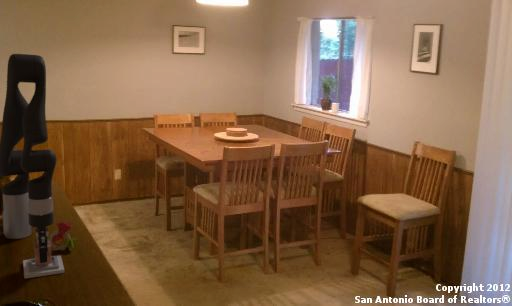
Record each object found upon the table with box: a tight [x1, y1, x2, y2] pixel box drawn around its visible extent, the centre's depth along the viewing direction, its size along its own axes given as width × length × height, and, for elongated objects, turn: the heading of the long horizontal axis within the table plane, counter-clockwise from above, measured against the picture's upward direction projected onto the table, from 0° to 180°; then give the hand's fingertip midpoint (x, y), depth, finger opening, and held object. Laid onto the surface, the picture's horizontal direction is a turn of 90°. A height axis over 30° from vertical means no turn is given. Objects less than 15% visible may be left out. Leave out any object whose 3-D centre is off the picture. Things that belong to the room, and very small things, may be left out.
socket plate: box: [22, 255, 65, 279], centre depth 170 cm, size 12×12×2 cm
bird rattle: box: [48, 221, 78, 252], centre depth 184 cm, size 6×11×9 cm
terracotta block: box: [33, 240, 53, 266], centre depth 169 cm, size 5×5×6 cm
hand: (43, 258), depth 169 cm, fingers closed on terracotta block, 4 cm apart
